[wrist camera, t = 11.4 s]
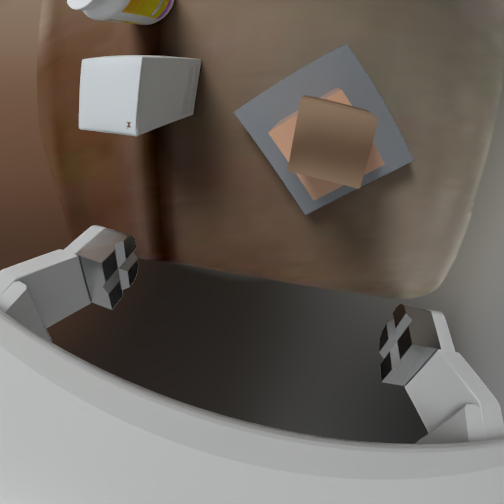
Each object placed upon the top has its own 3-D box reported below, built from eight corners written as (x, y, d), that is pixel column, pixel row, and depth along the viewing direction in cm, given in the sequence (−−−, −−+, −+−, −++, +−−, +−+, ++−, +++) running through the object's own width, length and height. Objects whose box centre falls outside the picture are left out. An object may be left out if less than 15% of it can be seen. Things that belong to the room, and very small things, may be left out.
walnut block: (304, 94, 21) (300, 98, 16) (367, 110, 20) (378, 118, 16) (294, 153, 23) (287, 171, 19) (353, 167, 23) (359, 189, 19)
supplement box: (203, 58, 29) (145, 55, 18) (194, 116, 33) (136, 139, 23) (149, 55, 29) (80, 57, 19) (142, 109, 34) (76, 131, 23)
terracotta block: (337, 87, 25) (341, 89, 20) (372, 145, 28) (384, 164, 22) (279, 120, 29) (267, 132, 23) (315, 175, 31) (313, 200, 25)
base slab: (344, 46, 25) (346, 43, 22) (407, 153, 30) (414, 160, 27) (240, 109, 32) (233, 112, 29) (306, 204, 36) (305, 215, 34)
